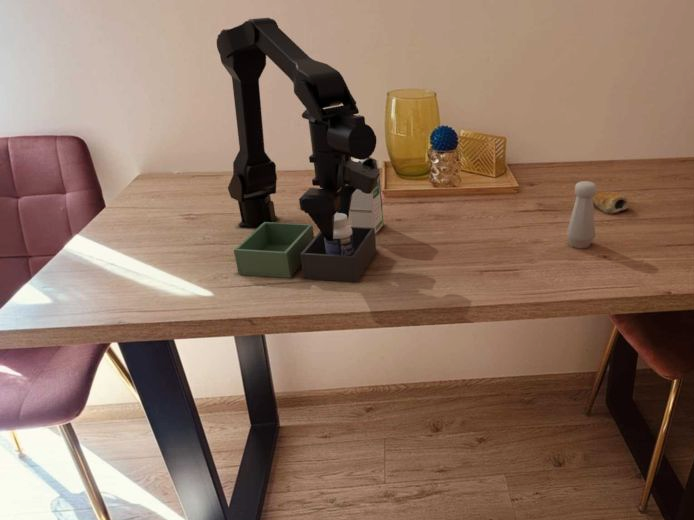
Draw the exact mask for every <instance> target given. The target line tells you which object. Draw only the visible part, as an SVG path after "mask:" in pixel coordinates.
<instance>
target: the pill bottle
mask: <svg viewBox="0 0 694 520" xmlns="http://www.w3.org/2000/svg"><path fill="white" fill-rule="evenodd" d="M324 241H325V249H326V254H328V255H344V256H353V254H354V253H355V251H354V243H353V232H352V228H351V225H349V218H348V219H347V215H345V214H342V213H338V212H337V213H336V214H335V215H334V235H333V241H327V240H326V239H325V237H324Z"/></svg>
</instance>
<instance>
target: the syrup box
mask: <svg viewBox="0 0 694 520" xmlns="http://www.w3.org/2000/svg"><path fill="white" fill-rule="evenodd" d="M352 160H353V161H355V162H358V161H361V163H363V162H364V161H365V160H366V159H365V160H359V159H356V158H353V159H352ZM375 160H376V163H377V169H380V166H379V165H380V164H379V160H377V159H375ZM380 177H381V175H380V176H379V177H378V180H377V183H376V186H375V189H373V191H372V192H371V193H370V194H366V193H363V192H362V191H361V190H359V189H356V190H355V192H354V193H353V194H352V200H351V205H350V212H349V224H350V225H349V226H350V227H364V228H374V229H375V235H376V234H377V233H378V232H379V230H380V229H381V228H382V227H383V226H384V225H385V221H384V211H383V210H384V209H383V198H382V186H381V178H380Z"/></svg>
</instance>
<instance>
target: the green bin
mask: <svg viewBox="0 0 694 520" xmlns="http://www.w3.org/2000/svg"><path fill="white" fill-rule="evenodd" d="M314 238H315V234H314V227H313V224H311V223H291V222H276V221H273V222H264V223H263V224H261V225H260V226H259V227H258V228H257V227H256V228H255V229H254V230H253V231H252V233H250V234H249V235H248V236H247V237H246V238H245V239H244V240H242V242H240V243H239V244H238V245H237V246H236V247H235V248H234V249H233V254H234V259H235V264H236V269H237V273H238V275H241V276H242V275H243V276H255V277H256V276H260V277H272V278H273V277H274V278H288V279H291V278H292V276H293V275H295V273H296V272H297V270H299V268H300V267H301V266H302V263H301V256H300V254H301V253H302V251H303V250H304V249H305V248H306V247H307V246H308V245H309V243H310V242H311V241H312V240H313V239H314Z"/></svg>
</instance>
